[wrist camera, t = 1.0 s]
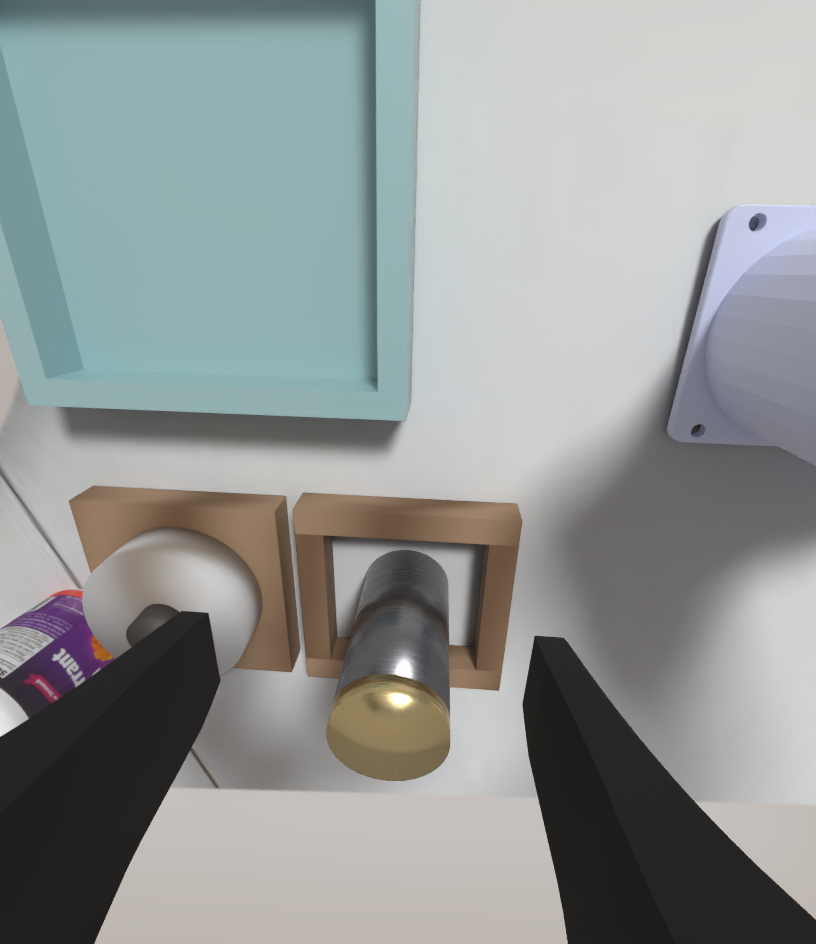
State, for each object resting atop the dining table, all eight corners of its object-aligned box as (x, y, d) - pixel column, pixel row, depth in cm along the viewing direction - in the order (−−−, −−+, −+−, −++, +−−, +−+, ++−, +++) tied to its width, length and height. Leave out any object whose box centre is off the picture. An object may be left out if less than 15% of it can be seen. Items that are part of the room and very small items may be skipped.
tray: (422, -85, 13) (417, -161, 11) (410, 402, 19) (406, 420, 16) (-48, -75, 14) (-145, -144, 12) (77, 389, 19) (28, 405, 17)
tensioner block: (516, 503, 20) (535, 564, 16) (495, 666, 24) (506, 749, 20) (91, 481, 21) (6, 533, 17) (135, 640, 25) (74, 713, 21)
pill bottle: (150, 671, 26) (-29, 866, 17) (64, 656, 27) (-154, 835, 17) (137, 588, 24) (-72, 757, 15) (45, 574, 25) (-209, 727, 16)
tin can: (450, 552, 21) (454, 700, 14) (446, 621, 23) (446, 785, 16) (364, 547, 22) (323, 690, 14) (365, 615, 23) (329, 775, 16)
